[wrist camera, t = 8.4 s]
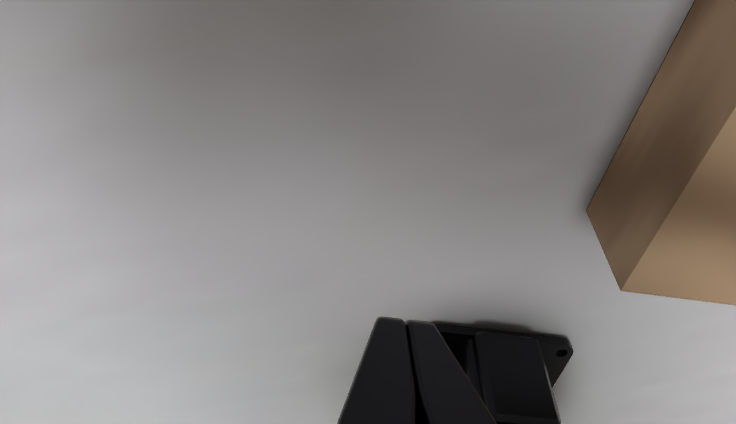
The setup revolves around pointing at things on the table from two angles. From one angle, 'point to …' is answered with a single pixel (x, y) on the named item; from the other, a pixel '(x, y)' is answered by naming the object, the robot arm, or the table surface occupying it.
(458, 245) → the table surface
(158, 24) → the table surface
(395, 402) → the robot arm
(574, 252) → the table surface
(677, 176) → the walnut deck
